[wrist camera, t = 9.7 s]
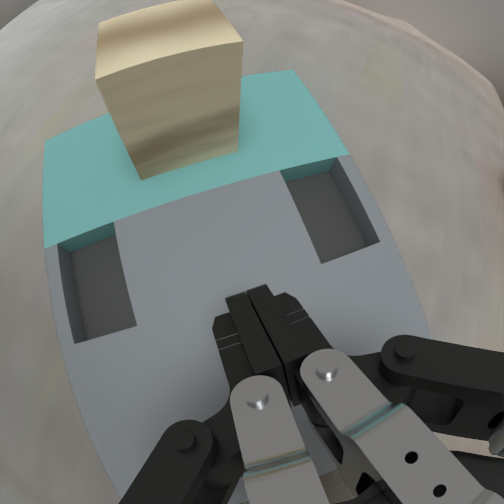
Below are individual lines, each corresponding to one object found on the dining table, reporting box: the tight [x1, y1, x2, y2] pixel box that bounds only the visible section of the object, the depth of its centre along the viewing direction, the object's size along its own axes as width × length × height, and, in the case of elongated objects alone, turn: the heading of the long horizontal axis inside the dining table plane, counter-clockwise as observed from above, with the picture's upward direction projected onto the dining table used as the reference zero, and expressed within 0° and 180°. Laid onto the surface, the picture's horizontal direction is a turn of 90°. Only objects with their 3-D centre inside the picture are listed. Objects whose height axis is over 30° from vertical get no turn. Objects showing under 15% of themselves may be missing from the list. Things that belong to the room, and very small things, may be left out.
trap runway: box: [43, 70, 433, 504], centre depth 16 cm, size 26×20×2 cm
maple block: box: [95, 0, 243, 181], centre depth 14 cm, size 6×6×8 cm
